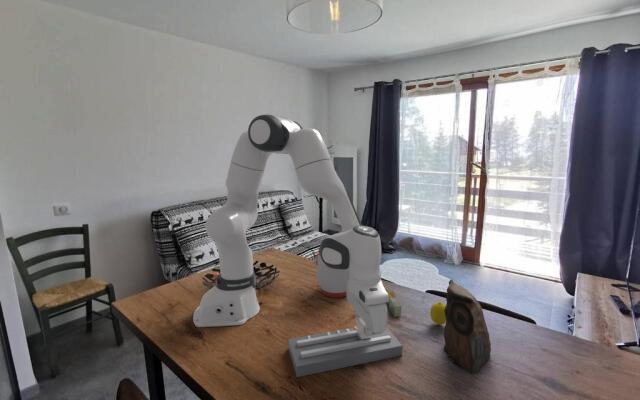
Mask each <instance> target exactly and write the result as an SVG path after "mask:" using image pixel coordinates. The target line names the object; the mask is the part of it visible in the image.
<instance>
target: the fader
mask: <svg viewBox="0 0 640 400" xmlns="http://www.w3.org/2000/svg"><path fill="white" fill-rule="evenodd" d="M355 321H356V322H355V323H356V325H355V326H356V331H357V336H358V338H359V339H360V341H361V340H366V339H371V337H372V335H371V336H366V335H365V333H364V328H366V325H365V322H364V321H363V320H362V318H358V319H357V318H356V320H355Z"/></svg>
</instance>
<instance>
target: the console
mask: <svg viewBox="0 0 640 400" xmlns="http://www.w3.org/2000/svg"><path fill="white" fill-rule="evenodd" d="M287 342H288V343H287V344H288V346H287V347H288V351H289V355H290V358H291V363H292V365H293V370H294V372H295V376H296V378H300V377H305V376H309V375H315V374H319V373H324V372H328V371H333V370H338V369H343V368H347V367H351V366H352V367H353V366H357V365H362V364H366V363H371V362H376V361H381V360H386V359H390V358H396V357H400V356H403V345H402V343H401V342H400V341H399V340H398V339H397V338H396V336H395V335H394V334H393V333H392V331H390V329H389V328H388V327H386V330H385V331H384V332H381V333H372V337H371V339H366V340H361V341H360V339H359V338H358V336H357V331H356V325H354V326H353V327H351V328H346V329H340V330H338V329H337V330H334V331H327V332H322V333H317V334H309V335H306V336H300V337H293V338H288V339H287Z"/></svg>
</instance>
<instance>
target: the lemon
mask: <svg viewBox="0 0 640 400" xmlns="http://www.w3.org/2000/svg"><path fill="white" fill-rule="evenodd" d="M445 307H446V304H444V303H443V302H441V301H438V302H435V303H433V304H432V305H431V307H430V311H429V316H430V319H431V321H432V322H433V323H434V324H436V326H441V325H442V326H443V325H446V316H445V312H444V310H445Z"/></svg>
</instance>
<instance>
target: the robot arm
mask: <svg viewBox="0 0 640 400" xmlns="http://www.w3.org/2000/svg"><path fill="white" fill-rule="evenodd" d="M272 154H277V155H278V154H281V155H282V154H285V155H289V156H290V158H291V161H292V162H293V167H294V171H295V173H296V176H297V181H298V182H299V185H300V187H301V188H302V189H303V191H305V192H306V193H307V194H308V195H311V196H313V197H314V196H315V197H318V198H321V199H323V200H325V201H327V202H328V203H330V205H331V206H332V207H333V209H334V212H335V214H336V217H337V220H338V222H339V224H340V226H341V231H340V232H337V233H334V234H331V235H329V236H327V237H326V238H323V240H321V242H320V243H319V244H320V245H319V247H318V253H319V252H320V257H321V259H322V261H323V263H324V264H325V265H326V266H328V267H329V268H332V269H340V270H345V269H347V270H348V271H349V280H348V282H347V293H346V300H347V302H348V303H349V304H350V305H351V307H352V308H353V309H354V313H355V317H356V320H357V319H358V318H362V320H363V321H364V322H365V325H366V328H364V333H365V335H366V336H371V335H372V333H381V332H384V331H385V330H386V327H387V326H388V325H387V324H388V304H387V302H388V301H389V296H388V293H387V292H386V291H387V290H386V288H385V287H384V284H383V281H382V278H381V277H382V273H381V272H382V271H381V269H380V267H381V262H382V243H381V236H380V234H379V232H378V231H377V230H376V229H375V228H373V227H370V226H367V225H363V224H362V221H361V220H360V217H359V215H358V213H357V210H356V208H355V206H354V203H353V201H352V198H351V196H350V194H349V191H348V189H347V187H346V186H345V183H343V181H342V180H341V178H340V177H339V175H338V174H337V173H338V172H336V170H335V167H334V164H333V162H332V161H333V160H332V158H331V155H330V152H329V149H328V147H327V145H326V143H325V141H324V139H323V137H322V135H321V133H320V131H318V130H317V129H316V128H311V127H305V128H303V126H302V125H301V124H300V123H299V122H297V121H294V120H291V119H289V118H286V117H283V116H275V115H272V114H259V115H257V116H255V117H254V118H253V119H252V120H251V121H250V123H249V125H248V130H246V131H244V132H242V133H241V134H240V135H239V138H238V140H237V142H236V144H235V147H234V149H233V151H232V156H231V160H230V164H229V168H228V170H227V171H228V172H227V177H226V181H225V187H226V188H227V199H226V203H225V205H224V206H221V207H219V208H217V209H216V210H214V211H213V212H212V213H211V214H210V215H209V216H208V218H207V219H206V222H205V225H204V227H205V228H204V229H205V232H206V234H207V236H208V238H210V239H211V240H212V241H213V242H214V244H215V247H216V249H217V252H218V258H219V268H220V270H219V271H220V272H215V273H214V274H213V279H214V286H213V287H212V288H211V289H208V290H207V292H205V293H204V294H203V296H202V298H201V299H200V303H199V306H197V308H196V309H195V310H194V312H193V316H192V322H194V323H193V325H194V324H195V325H194V326H195V327H197V328H206V327H210V328H211V327H225V326H226V327H227V326H241V325H244V324H245V323H246V322H247V321H248V320H250V319H251V318H254V317H255V316H257V314H258V313H259V312H260V310H261V307H260V305H259V302H258V298H257V293H256V274H255V270H254V261H253V250H252V248H251V247H249V244H248V241H247V237H246V236H247V235H246V234H247V233H246V232H247V230H249V229H251V228H252V227H253V226H254V225H255V223H256V221H257V220H258V219H257V218H258V216H259V215H258V214H259V213H258V204H259V203H258V202H259V194H260V188H261V185H262V182H263V181H262V180H263V177H264V174H265V170H266V166H267V161H268V159H269V158H270V156H272ZM387 328H388V327H387Z"/></svg>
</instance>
